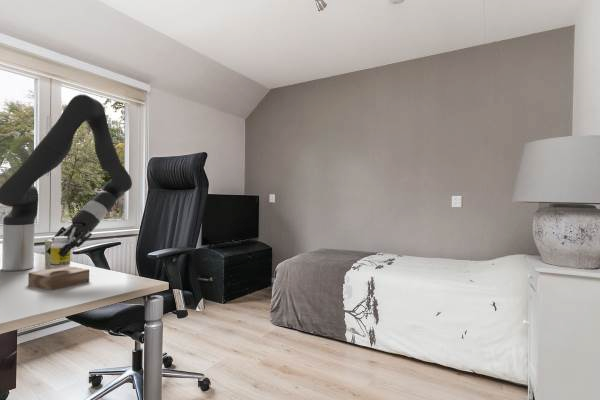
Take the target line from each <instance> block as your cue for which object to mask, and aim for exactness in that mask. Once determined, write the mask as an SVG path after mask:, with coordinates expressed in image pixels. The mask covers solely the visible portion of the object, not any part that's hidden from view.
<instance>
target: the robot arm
mask: <svg viewBox="0 0 600 400" xmlns="http://www.w3.org/2000/svg"><path fill="white" fill-rule="evenodd" d="M85 121H86V123H87V124H88V126H89V128H90V130H91V132H92V135H93V139H94V151H95V155H96V157H97V159H98V160H97V161H98V162H99V165H100V167H101V169H102V171H103V172H105V173H107V174H108V175H109V177H110V178H111V179H109V181H108V182H106V184H104V186H102V188H101V190H100V191H99V192H98V193H96V195H94V197H92V199H90V201H88V202H87V203H86V204H85V205H84V206H83V207H82V208H81V209H79V211H78V212H76V214H75V215H74V216H73V217H72V218H71V225H69V226H68V227H67V228H65V227H64V226H62V227H61V228H59V230H58V231H57V233H55V235H54V236H53V238H51V239H52V241H53V240H54V237H58V236H67V237H68V241H67V244H68V245H67V244H66V245H65V246H64V247H63V248H62V249H61V250H60V251H59V252H58V254H59V255H60V256H61V257H65V256H66V254H67V253H68V252H69V251H70V252H71V250H72V249H75V248H76V247H77V248H80V247H81V246H82V245H83V244H84V243H85V242H86V241H87V240H89V238H91V236H92V235H93V234H92V232H93V231H94V229H96V228H97V226H98V225H100V223H101V222H102V221H103V220H104V218H105V217H106V215H107V214H108V213H109V212H110V211H111V209H112V208H113V207H114V206H115V205H116V203H117V201H118V199H119V198H121V196H123V195H124V194H125V193H127V192H128V191H129V190H131V189H132V186H133V181H132V177H131V176H130V174H129V172H128V171H127V170H126V168H125V166H123V164H122V162H121V159H120V157H119V155H118V151H117V150H116V147H115V145H114V143H113V139H112V135H111V133H110V132H111V131H110V128H109V124H108V119H107V116H106V111H105V107H104V105H103V104H102V103H101V102H100V101H99V100H98V99H95V98H94V97H92V96H90V95H87V94H82V93H81V94H77V95H75V96H74V97H72V98H71V99H70V101H69V102H68V103H67V105H66V107H65V108H64V110H63V112H62V113H61V115H60V117H59V118H58V119H57V121H56V122H55V123H54V125H52V127H51V129H49V131H48V132H47V133H46V135H45V136H44V137H43V138H42V139H41V141H40V142H39V143H38V145H37V146H36V147H35V148H34V149H33V151H32V152H31V153H30V155H29V156H28V157H27V159H26V160H25V161H24V162H23V163H22V164H21V166H20V167H19V168H18V169H17V170H16V171H15V172H14V173H13V174H12V175H11V176H9V178H8V179H7V180H5V182H4V183H3V184H2V185H1V186H0V204H1V205H3V206H5V207H11V211H10V212H9V213H8V214H7V215H5V216H4V217H3V220H2V221H3V222H2V224H3V225H2V258H1V260H2V265H1V268H2V270H3V271H5V272H7V271H8V272H11V271H25V270H29V269H33V268H34V267H35V262H34V261H35V221H36V218H37V216H38V209H39V208H38V205H39V191H38V189H37V187H36V186H35V185H34V184H35V183H36V182H37V181H39V179H40V178H42V177H43V176H45V175H47V174H48V173H50V172H51V171H53V170H54V169H55V168H57V167H58V166H60V164H61V163H62V162H63V161H64V160H65V158H66V157H67V156H68V154H69V153H70V151H71V150H72V145H73V141H74V137H75V134H76V132H77V131H78V129H79V128H80V127H81V126H82V125H83V123H84V122H85ZM46 252H47V253H48V254H50V255H51V247H50V248H49V249H48V250H47V251H46Z"/></svg>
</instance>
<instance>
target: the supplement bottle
mask: <svg viewBox="0 0 600 400" xmlns="http://www.w3.org/2000/svg"><path fill="white" fill-rule="evenodd" d="M53 237H54V236H53ZM53 241H54V243H53V244H52V245H51V256H50V266H51V267H56V268H58V267H66V266H70V265H71V250H70V251H69V252H68V253H67V254H66V256H65V257H61V256H60V255H59V254H58V252H59V251H60V250H61V249H62V248H63V247H64V246H65V245H66V244H67V243H68V242H67V241H68V237H67V236H58V237H54V240H53ZM67 245H68V244H67Z"/></svg>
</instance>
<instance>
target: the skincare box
mask: <svg viewBox="0 0 600 400" xmlns="http://www.w3.org/2000/svg"><path fill="white" fill-rule="evenodd" d="M52 239H53V238H51V239H45V240H44V263H45V264H44V270H46V269H51V268H56V267H51V266H50V256H51V255H50V254H48V253H47V252H46V251H47V250H48V249H49V248H50V247H51V245H52V244H53V243H54V241H52Z"/></svg>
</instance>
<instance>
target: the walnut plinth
mask: <svg viewBox="0 0 600 400" xmlns="http://www.w3.org/2000/svg"><path fill="white" fill-rule="evenodd" d="M27 276H28V277H27V278H28V279H27V280H28V283H27V285H28V286H31V287H35V288H40V289H45V290H48V291H55V290H58V289H59V290H60V289H63V288H67V287H71V286H74V285H79V284H83V283H88V282H90V269H87V268H82V267H77V266H70V265H69V266H66V267H58V268H51V269H46V270H45V269H41V270H37V271H31V272H28V275H27Z"/></svg>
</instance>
